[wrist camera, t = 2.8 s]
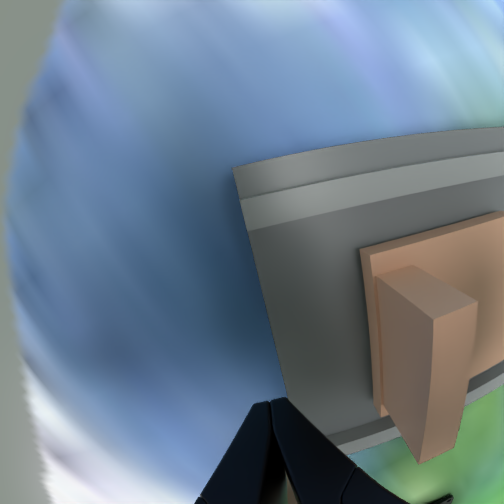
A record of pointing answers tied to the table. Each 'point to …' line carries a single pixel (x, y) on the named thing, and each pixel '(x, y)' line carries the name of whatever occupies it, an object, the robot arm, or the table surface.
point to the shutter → (434, 325)
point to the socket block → (354, 256)
